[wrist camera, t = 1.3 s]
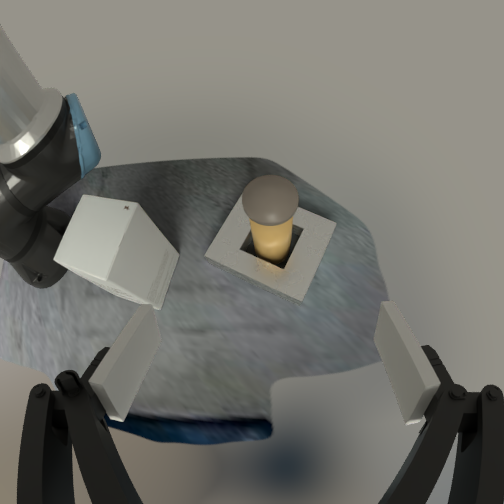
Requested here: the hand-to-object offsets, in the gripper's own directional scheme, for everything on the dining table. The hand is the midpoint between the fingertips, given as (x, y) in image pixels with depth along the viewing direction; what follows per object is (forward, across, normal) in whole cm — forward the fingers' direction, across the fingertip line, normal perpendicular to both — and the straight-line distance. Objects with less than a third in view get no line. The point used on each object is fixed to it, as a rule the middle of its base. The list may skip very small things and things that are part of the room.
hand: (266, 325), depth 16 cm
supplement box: (+23, -19, -8) cm, 31 cm away
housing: (+26, 0, -5) cm, 26 cm away
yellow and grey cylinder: (+26, 0, -5) cm, 26 cm away
